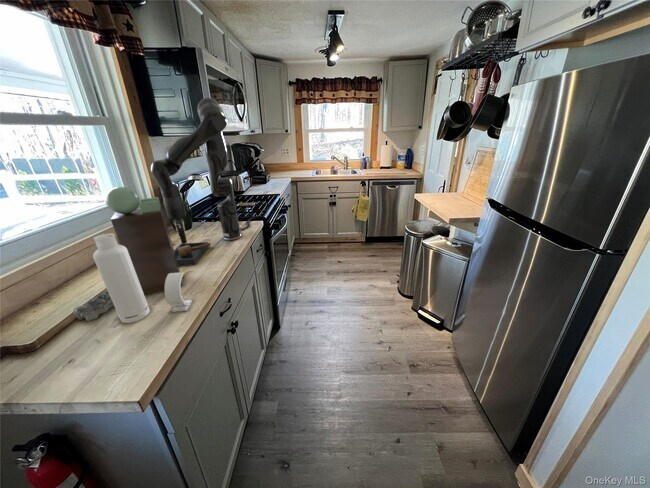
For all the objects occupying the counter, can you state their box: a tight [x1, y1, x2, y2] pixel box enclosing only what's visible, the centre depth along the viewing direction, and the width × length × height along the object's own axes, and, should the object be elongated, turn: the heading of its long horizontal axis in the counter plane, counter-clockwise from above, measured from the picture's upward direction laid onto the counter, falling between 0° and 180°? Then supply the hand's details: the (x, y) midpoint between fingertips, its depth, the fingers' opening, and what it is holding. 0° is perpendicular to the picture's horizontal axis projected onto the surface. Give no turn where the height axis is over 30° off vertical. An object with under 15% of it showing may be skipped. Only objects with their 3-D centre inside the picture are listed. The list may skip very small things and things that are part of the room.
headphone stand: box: [164, 271, 193, 313], centre depth 86 cm, size 5×6×12 cm
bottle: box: [92, 232, 151, 324], centre depth 80 cm, size 8×8×28 cm
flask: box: [104, 186, 162, 214], centre depth 88 cm, size 9×14×9 cm, turn 120°
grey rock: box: [72, 292, 115, 322], centre depth 87 cm, size 11×8×4 cm
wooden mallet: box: [178, 242, 212, 257], centre depth 125 cm, size 5×14×5 cm, turn 119°
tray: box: [173, 241, 210, 267], centre depth 125 cm, size 20×14×3 cm
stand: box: [110, 206, 183, 297], centre depth 96 cm, size 10×14×30 cm
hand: (184, 240), depth 122 cm, fingers open, 5 cm apart
